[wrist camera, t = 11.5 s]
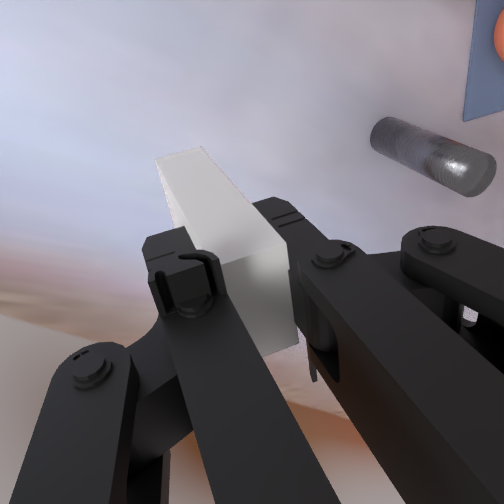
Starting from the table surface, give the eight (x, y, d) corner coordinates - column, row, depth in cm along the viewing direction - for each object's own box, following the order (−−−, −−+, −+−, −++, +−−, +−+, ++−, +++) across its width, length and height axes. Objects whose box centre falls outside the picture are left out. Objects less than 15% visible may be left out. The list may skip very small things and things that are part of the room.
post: (370, 156, 33) (456, 202, 26) (370, 122, 31) (461, 160, 24) (399, 147, 33) (492, 190, 26) (401, 113, 32) (499, 148, 25)
